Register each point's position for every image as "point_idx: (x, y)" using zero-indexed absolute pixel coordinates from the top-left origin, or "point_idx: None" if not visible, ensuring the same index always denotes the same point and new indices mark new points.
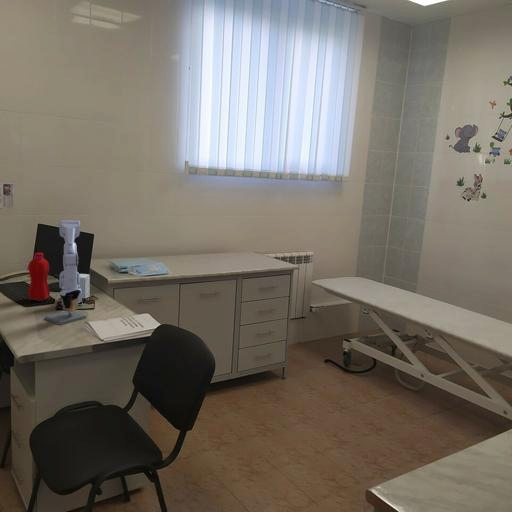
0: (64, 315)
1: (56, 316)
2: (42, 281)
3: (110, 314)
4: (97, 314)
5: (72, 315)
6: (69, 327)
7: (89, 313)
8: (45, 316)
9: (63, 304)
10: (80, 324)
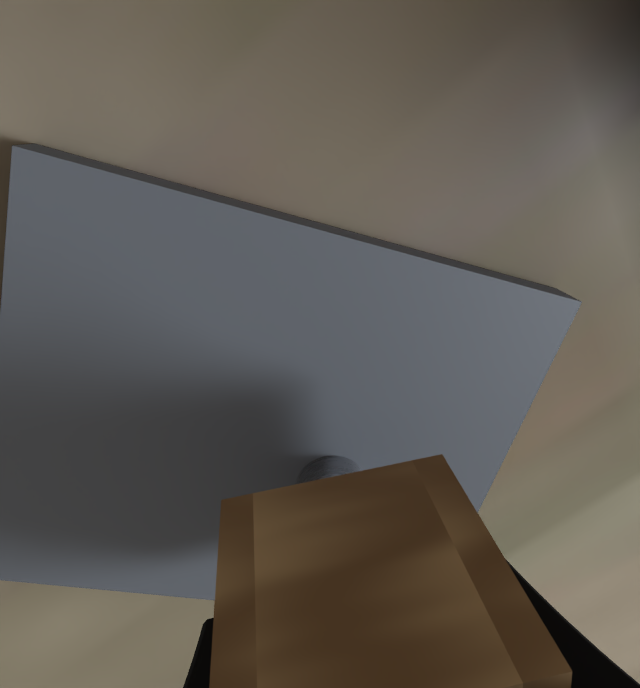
0: (287, 414)
1: (162, 350)
2: None
3: (629, 672)
4: (591, 593)
5: None
6: (8, 672)
7: (601, 511)
8: (19, 171)
9: (218, 643)
10: (179, 681)
